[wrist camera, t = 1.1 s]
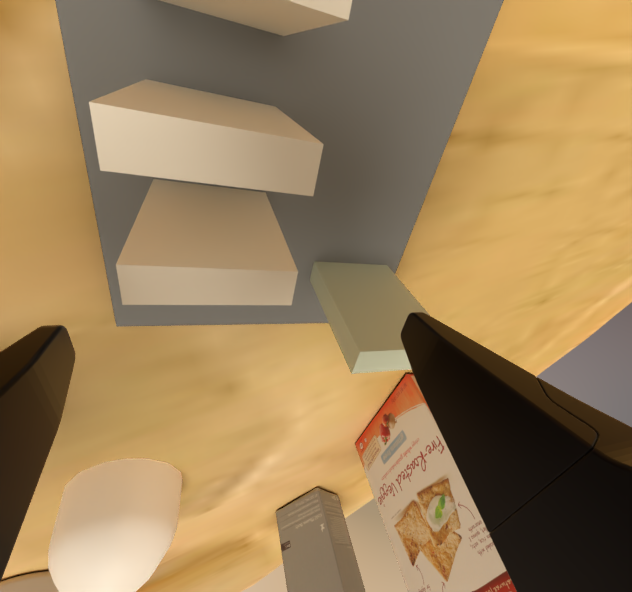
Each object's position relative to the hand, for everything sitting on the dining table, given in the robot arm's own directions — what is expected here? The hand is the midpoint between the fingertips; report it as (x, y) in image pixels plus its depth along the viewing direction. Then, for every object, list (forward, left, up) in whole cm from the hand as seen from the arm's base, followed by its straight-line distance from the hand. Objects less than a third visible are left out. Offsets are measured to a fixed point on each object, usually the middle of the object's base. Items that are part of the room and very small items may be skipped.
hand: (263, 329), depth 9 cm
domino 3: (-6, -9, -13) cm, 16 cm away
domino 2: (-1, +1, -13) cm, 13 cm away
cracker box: (-26, -21, -13) cm, 35 cm away
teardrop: (-34, +9, -13) cm, 37 cm away
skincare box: (-48, -14, -13) cm, 51 cm away
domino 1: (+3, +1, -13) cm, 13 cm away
